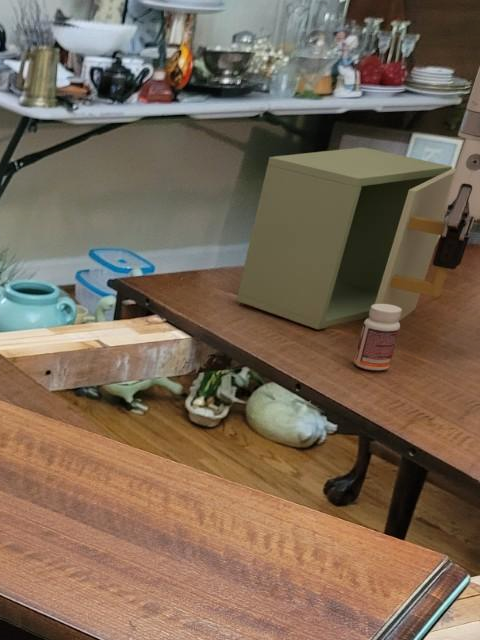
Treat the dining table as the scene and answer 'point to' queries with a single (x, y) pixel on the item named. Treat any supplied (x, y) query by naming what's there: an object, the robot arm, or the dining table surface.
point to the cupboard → (327, 232)
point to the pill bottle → (378, 337)
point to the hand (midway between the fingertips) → (445, 264)
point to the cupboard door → (416, 246)
